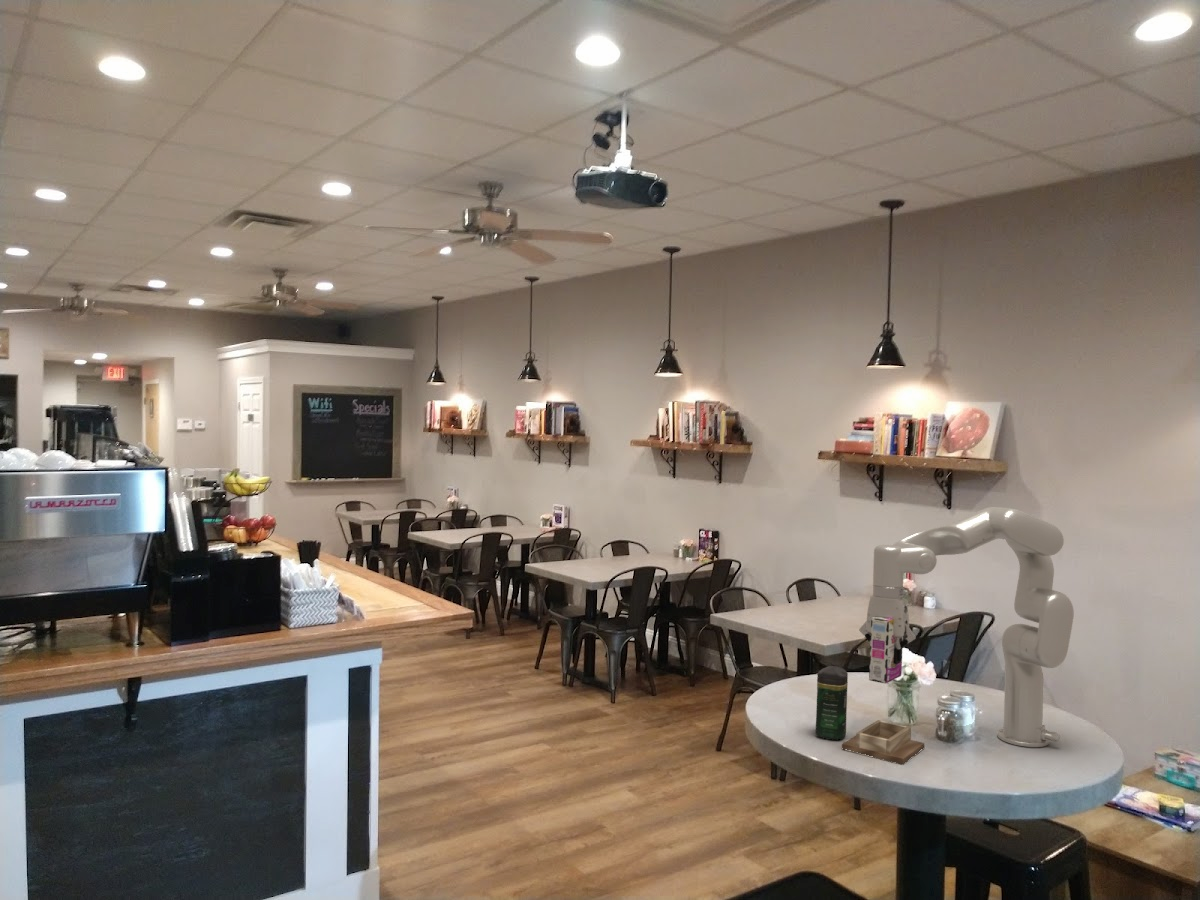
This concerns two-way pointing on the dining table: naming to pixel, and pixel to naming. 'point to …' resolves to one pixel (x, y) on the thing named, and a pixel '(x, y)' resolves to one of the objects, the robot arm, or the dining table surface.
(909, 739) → the stand
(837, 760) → the dining table surface
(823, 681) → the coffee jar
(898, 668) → the candy bar box
